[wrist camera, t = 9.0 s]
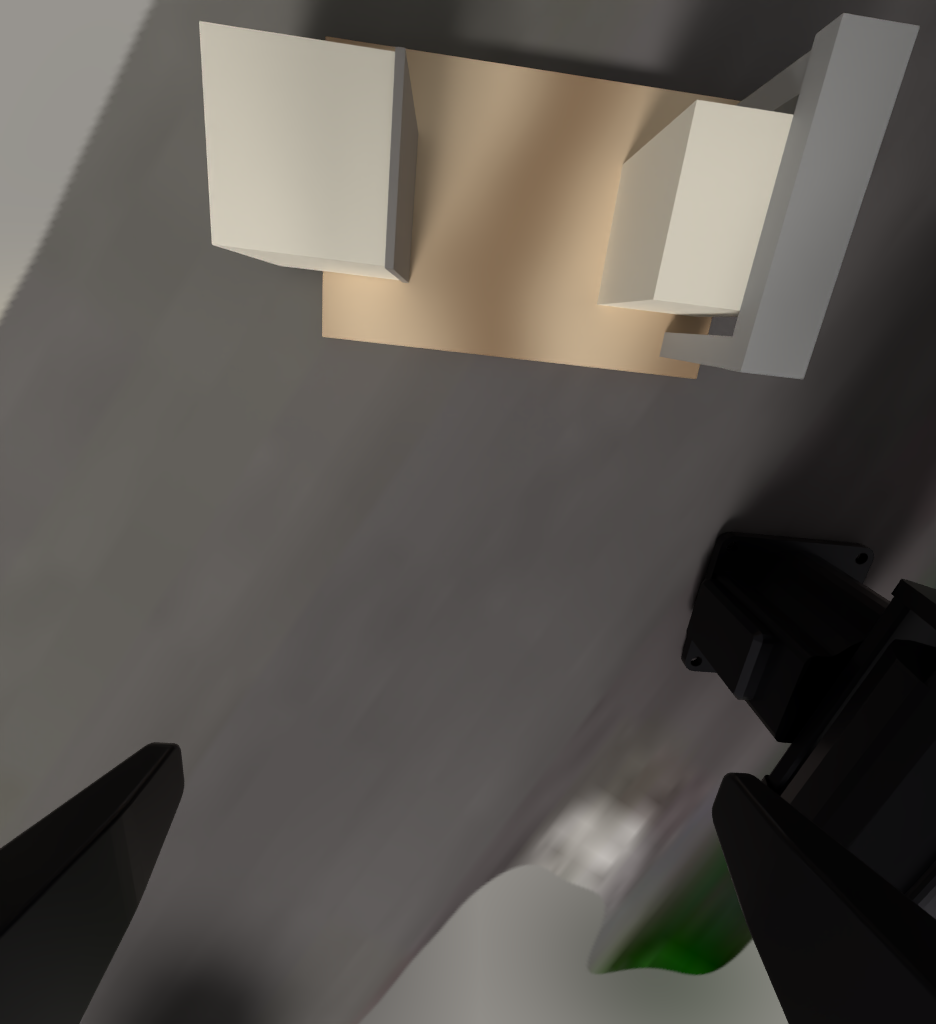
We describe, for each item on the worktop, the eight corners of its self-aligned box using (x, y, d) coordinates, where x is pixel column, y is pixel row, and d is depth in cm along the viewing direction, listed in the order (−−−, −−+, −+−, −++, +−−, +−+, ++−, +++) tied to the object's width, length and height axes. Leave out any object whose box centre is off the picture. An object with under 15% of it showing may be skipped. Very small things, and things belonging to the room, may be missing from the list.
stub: (418, 132, 15) (405, 47, 10) (408, 283, 17) (393, 269, 12) (277, 112, 15) (196, 14, 10) (279, 267, 16) (210, 246, 12)
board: (755, 112, 16) (766, 105, 15) (688, 376, 19) (696, 378, 18) (329, 47, 15) (325, 36, 14) (326, 336, 18) (322, 336, 17)
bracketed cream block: (754, 128, 16) (920, 25, 10) (695, 360, 18) (803, 379, 12) (632, 109, 15) (735, -7, 10) (588, 348, 18) (652, 361, 12)
